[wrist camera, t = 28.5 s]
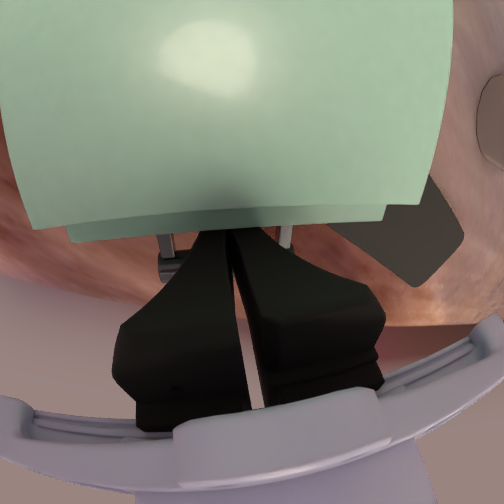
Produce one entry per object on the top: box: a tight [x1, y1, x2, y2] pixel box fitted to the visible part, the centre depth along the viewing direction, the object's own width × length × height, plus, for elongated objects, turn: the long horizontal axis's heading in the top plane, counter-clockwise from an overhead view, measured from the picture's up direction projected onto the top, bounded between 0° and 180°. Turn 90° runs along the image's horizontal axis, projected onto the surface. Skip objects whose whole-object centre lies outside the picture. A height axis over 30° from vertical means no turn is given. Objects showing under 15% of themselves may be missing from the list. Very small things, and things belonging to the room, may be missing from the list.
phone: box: [327, 174, 464, 287], centre depth 19 cm, size 7×1×15 cm
